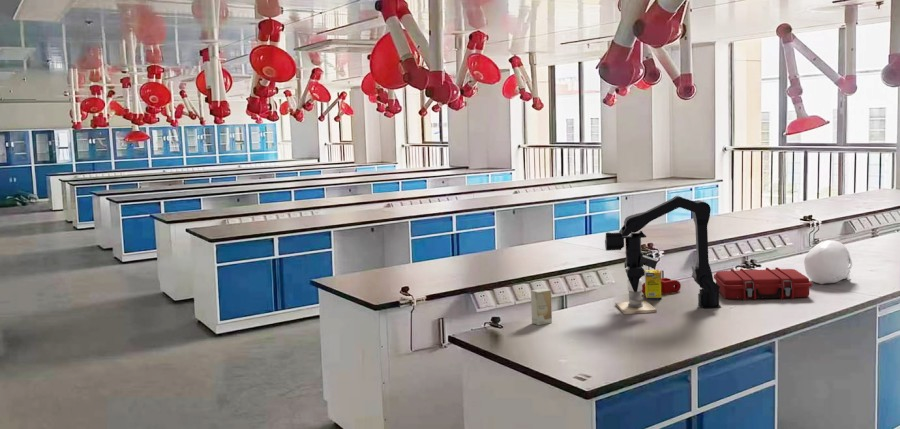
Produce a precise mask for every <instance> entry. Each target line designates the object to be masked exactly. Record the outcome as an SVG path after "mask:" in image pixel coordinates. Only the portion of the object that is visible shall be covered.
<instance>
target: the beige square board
mask: <svg viewBox="0 0 900 429" xmlns="http://www.w3.org/2000/svg"><path fill="white" fill-rule="evenodd" d="M615 306H616V307H617V308H618V310H620V312H621V313H623V314H624V315H631V314H632V315H633V314H635V315H636V314H647V313H648V314H649V313H650V314H651V313H657V311H658V310H657V308H655V307H654V306H653V305H652V304H650V302H648V301H647V300H643V298H642V291H639V292H631V291H628V301H625V302H624V301H623V302H615Z"/></svg>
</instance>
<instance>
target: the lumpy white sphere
mask: <svg viewBox="0 0 900 429" xmlns="http://www.w3.org/2000/svg"><path fill="white" fill-rule="evenodd" d="M803 263H804V264H803V266H804V269H805V273H806V275H807V276H806V277H807V278H809V280H811V282H812V283H816V284H820V285H823V284H836V283H838V282H840V281H841V280H846V281H850V279H851V269H852V266H853V261H852V257H851V255H850V251H849V250H848V249H847V247H846V246H845V245H844V244H843V243H842V242H841V241H838V240H833V239H828V240H823V241H821V242H819V243H817V244H816V245H814V246H813V247H812V248H811V249H809V251H808V252H807V253H806V254H805V256H804V260H803ZM849 265H850V266H849Z"/></svg>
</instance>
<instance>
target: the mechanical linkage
mask: <svg viewBox="0 0 900 429" xmlns="http://www.w3.org/2000/svg"><path fill="white" fill-rule="evenodd" d="M681 288H682V286H681V282H680V281H678V280H676V279H670V278H667V277H661V294H663V293H664V295H665V294H666V293H668V294H673V293H672V292H674V293H678V292H680V290H681ZM641 294H644V295H645V282H642V291H641ZM666 295H667V294H666Z"/></svg>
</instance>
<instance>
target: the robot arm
mask: <svg viewBox="0 0 900 429" xmlns="http://www.w3.org/2000/svg"><path fill="white" fill-rule="evenodd" d="M679 208H680V209H683V210H687V211H690V212H691V216H692V219H693V222H694V225H695V246H696V247H695V250H696V264H695V266H691V270H692V275H691V278H693V281H694V282H695V283H696V284H697V285H698V286H699V288H700V289H699V293H698V294H697V297H698V301H697V302H698V303H697V304H698V305H699V306H700V307H701V308H703V309H710V308H711V309H713V308H714V309H715V308H722V305H721V304H720V292H719V288H720V286H718V285H717V284H716V281H714V275H713V272H712V268H711V266H710V263H709V240H708V225H709V222H710V218H711V210H712V208H711V206H710V204H709V203H708V202H706V201H703V200H701V199H700V200H695V201H694V200H692V199H688V198H684V197H682V196H679V195H676V196H673V198H671V199H668V200H667V201H665V202H662V203H661V204H658V205H657V206H654V207H652V208H650V209H649V210H648V209H647V210H646V211H643V212H639V213H635V214H631V215H627V217H625V219H624V221H623V226H622V227H621V228H620V230H619V231H618V232H611V231H610V232H609V231H607V232H605V240H604V247H605V251H607V252H608V251H622V249H623V248H625V254H624V255H625V261H624V263H623V264H624V266H623V267H624V269H625V270H624V271H625V273H626V276H627V280H628V279H629V281H630V284H631V286H632V288H633V291H634V292H637V289H638V284H639V279H642V277H645V269H644V268H643V267H644V266H645V267H648V268H651V269H652V270H656V268H657V264H658V262H659V261H658V260H657V258H654V254H652V253H648V254H647V255H644V253H643V251H642V238H647V235H646V234H645V233H644V232H643V230H642V229H643V228H645V227H646V226H647V225H649V223H651V222H652V221H654V220H656V219H658V218H660V217H663V216H665V215H666V214H668V213H671V212H673V211H675V210H677V209H679Z"/></svg>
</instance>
